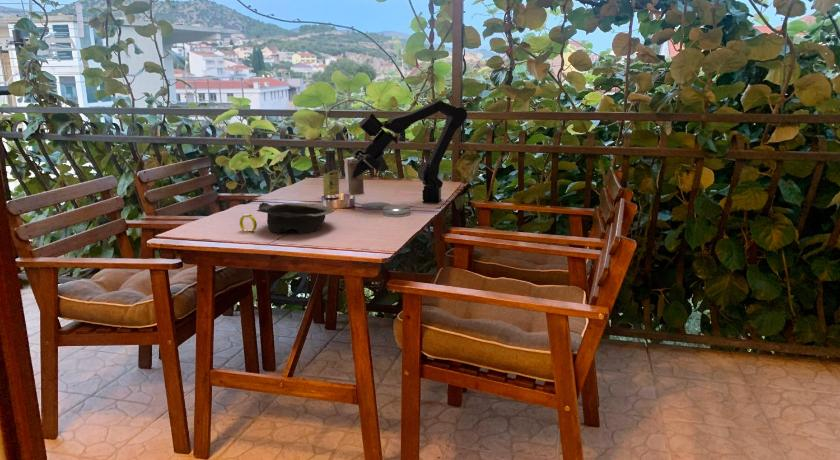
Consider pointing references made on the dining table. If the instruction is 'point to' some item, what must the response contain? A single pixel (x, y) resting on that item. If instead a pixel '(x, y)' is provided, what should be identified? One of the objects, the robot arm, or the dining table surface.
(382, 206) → the coaster
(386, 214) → the round metal lid
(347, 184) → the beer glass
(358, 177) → the pepper mill
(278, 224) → the stone bowl
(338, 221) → the dining table surface
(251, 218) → the watch
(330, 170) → the sauce bottle
